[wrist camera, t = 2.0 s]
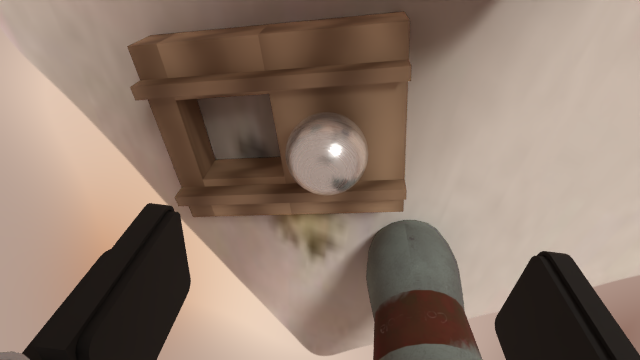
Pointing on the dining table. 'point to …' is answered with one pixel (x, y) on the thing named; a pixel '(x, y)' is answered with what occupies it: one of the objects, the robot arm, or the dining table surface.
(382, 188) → the wooden box
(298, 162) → the steel ball
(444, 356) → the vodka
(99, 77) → the dining table surface
